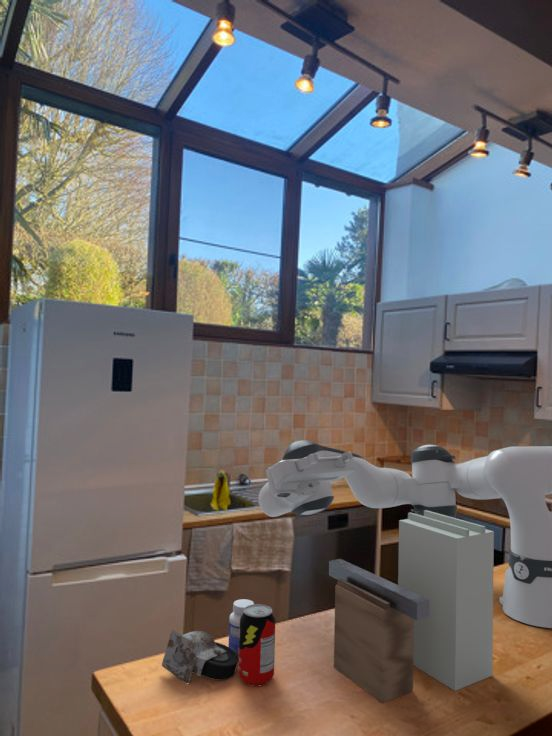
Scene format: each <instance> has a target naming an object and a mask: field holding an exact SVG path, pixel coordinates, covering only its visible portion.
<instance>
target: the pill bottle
mask: <svg viewBox="0 0 552 736" xmlns="http://www.w3.org/2000/svg"><path fill="white" fill-rule="evenodd" d="M253 604H255V602H254V601H253V600H251V599H246V598H245V599H244V598H243V599H241V598H240V599H237V600H234V602H233V605H232V612H231V613H230V614H229V618H228V619H229V620H228V645H227V647H229V648H230V649H232V650H233V651H234V652H235V653H236V654H237V656H238V661H239V633H240V618H241V616H242V615H243V613H244V611H243V610H244V608H245V607H246V606H249V605H253Z"/></svg>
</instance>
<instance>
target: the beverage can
mask: <svg viewBox="0 0 552 736" xmlns="http://www.w3.org/2000/svg"><path fill="white" fill-rule="evenodd" d="M243 611H244V613H243V615H242V616H241V618H240V633H239V660H238V676H239V678H240V679H241V681H242V682H244V683H245V684H246V683H247V684H246V685H248V684H249V686H251V685H253V686H252V687H259V685H261V686H264V685H266V684H268V683H269V682H271V680H272V679H273V678H274V675H275V660H276V659H275V656H276V655H275V654H276V653H275V652H276V651H275V650H276V649H275V648H276V618H275V616H274V614H273V609H272V607H271V606H269V605H266V604H262V603H261V604H259V603H256V604H255V603H254V604H253V605H249V606H246V607H245V608H244V610H243ZM267 682H268V683H267Z"/></svg>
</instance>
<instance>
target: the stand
mask: <svg viewBox="0 0 552 736" xmlns="http://www.w3.org/2000/svg"><path fill="white" fill-rule="evenodd" d="M494 539H495V533H494V531H493V530H490V529H487V528H486V526H485V525H481V524H478V523H475V522H472V521H471V522H470V521H467V520H463V519H459V518H456V517H455V518H453V517H449V516H446V515H442V514H438V513H435V512H431V511H427V510H425V511H424V516H421V515H418V514H416V513H415V512H414V513H413V512H407V518H405V519H400V520H398V562H397V563H398V564H397V567H398V568H397V569H398V571H397V572H398V573H397V574H398V576H397V585H399V586H401V587H404V588H406V589H408V590H410V591H412V592H415V593H417V594H419V595H421V596H423V597H426V598H428V599H429V617H427V618H423V619H420V620H415V619H414V652H413V667H415V668H417V669H418V670H420V671H422V672H423V673H425V674H427V675H428V676H430V677H431V678H433V679H435V680H437V681H439V683H442V684H443V685H444V686H446V687H448V688H450V689H451V690H453V691H454V692H455V691H459V690H461V689H463V688H466V687H468V686H470V685H473V684H475V683H478V682H481V681H482V680H485V679H487V678H488V679H489V678H490V677H492V676H493V658H494V657H493V655H494V654H493V648H494V647H493V645H494V644H493V643H494V641H493V640H494V639H493V638H494V637H493V636H494V565H495V563H494V556H495V555H494V550H495V548H494V546H495V540H494Z"/></svg>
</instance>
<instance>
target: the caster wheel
mask: <svg viewBox="0 0 552 736" xmlns="http://www.w3.org/2000/svg"><path fill="white" fill-rule="evenodd" d="M238 664H239V660H238V656H237V654H236V653H235V652H234V651H233V650H232V649H230V648H229V647H228V645H226V644H223V643H220V642H218V641H217V642H216V641H215V640H214V638H213V637H212V636H211V635H210V633H208V632H205V631H202V630H193V631H189V632H187V633H184V634H181V633H178V631H176V630H174V629H171V632H170V635H169V638H168V643H167V646H166V648H165V652H164V656H163V659H162V662H161V667H163V668H164V669H165V670H166V671H168V672H169V673H170V674H171V675H173V676H175V677H176V678H177V679H179V680H180V681H181V680H182V681H181V682H183V681H184V682H186V683H189V684H190V682H191V678H192V675H193V674H194V675H196V676H199V677H202V676H203V677H206V678H209V679H212V680H218V681H224V680H228V679H231V678H233V676H234V675H235V673H236V670H237V666H238ZM184 682H183V683H184ZM186 683H185V684H186Z"/></svg>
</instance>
